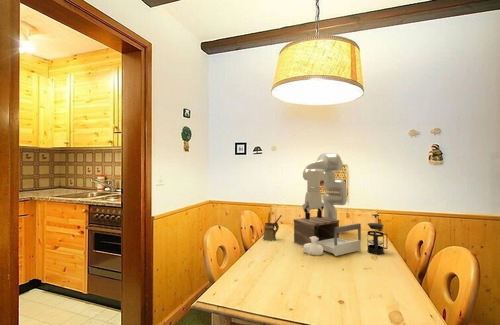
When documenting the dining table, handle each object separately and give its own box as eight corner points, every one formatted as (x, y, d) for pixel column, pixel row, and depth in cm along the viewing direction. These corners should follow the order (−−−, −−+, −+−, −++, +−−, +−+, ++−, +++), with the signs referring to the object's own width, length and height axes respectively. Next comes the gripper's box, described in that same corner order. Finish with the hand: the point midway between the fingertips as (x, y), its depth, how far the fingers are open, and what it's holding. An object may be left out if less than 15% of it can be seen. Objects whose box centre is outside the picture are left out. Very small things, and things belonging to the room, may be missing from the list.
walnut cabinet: (319, 237, 195) (319, 215, 195) (339, 243, 179) (339, 220, 179) (293, 242, 182) (293, 219, 182) (312, 249, 166) (312, 224, 167)
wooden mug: (280, 242, 182) (280, 216, 183) (261, 240, 187) (261, 214, 187) (282, 238, 191) (282, 213, 191) (264, 237, 195) (264, 212, 195)
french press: (366, 253, 159) (366, 215, 159) (365, 249, 168) (365, 212, 168) (388, 256, 155) (388, 216, 155) (386, 251, 164) (386, 213, 164)
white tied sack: (323, 259, 156) (326, 240, 163) (321, 254, 151) (324, 235, 157) (303, 255, 162) (306, 238, 168) (301, 251, 156) (304, 233, 163)
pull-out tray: (337, 242, 179) (337, 218, 179) (360, 249, 163) (360, 223, 163) (313, 247, 167) (313, 222, 168) (335, 255, 152) (335, 228, 152)
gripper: (319, 188, 167) (319, 216, 167) (298, 190, 158) (298, 218, 158) (328, 189, 160) (328, 218, 160) (307, 191, 152) (307, 221, 151)
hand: (313, 218), depth 159 cm, fingers open, 9 cm apart
